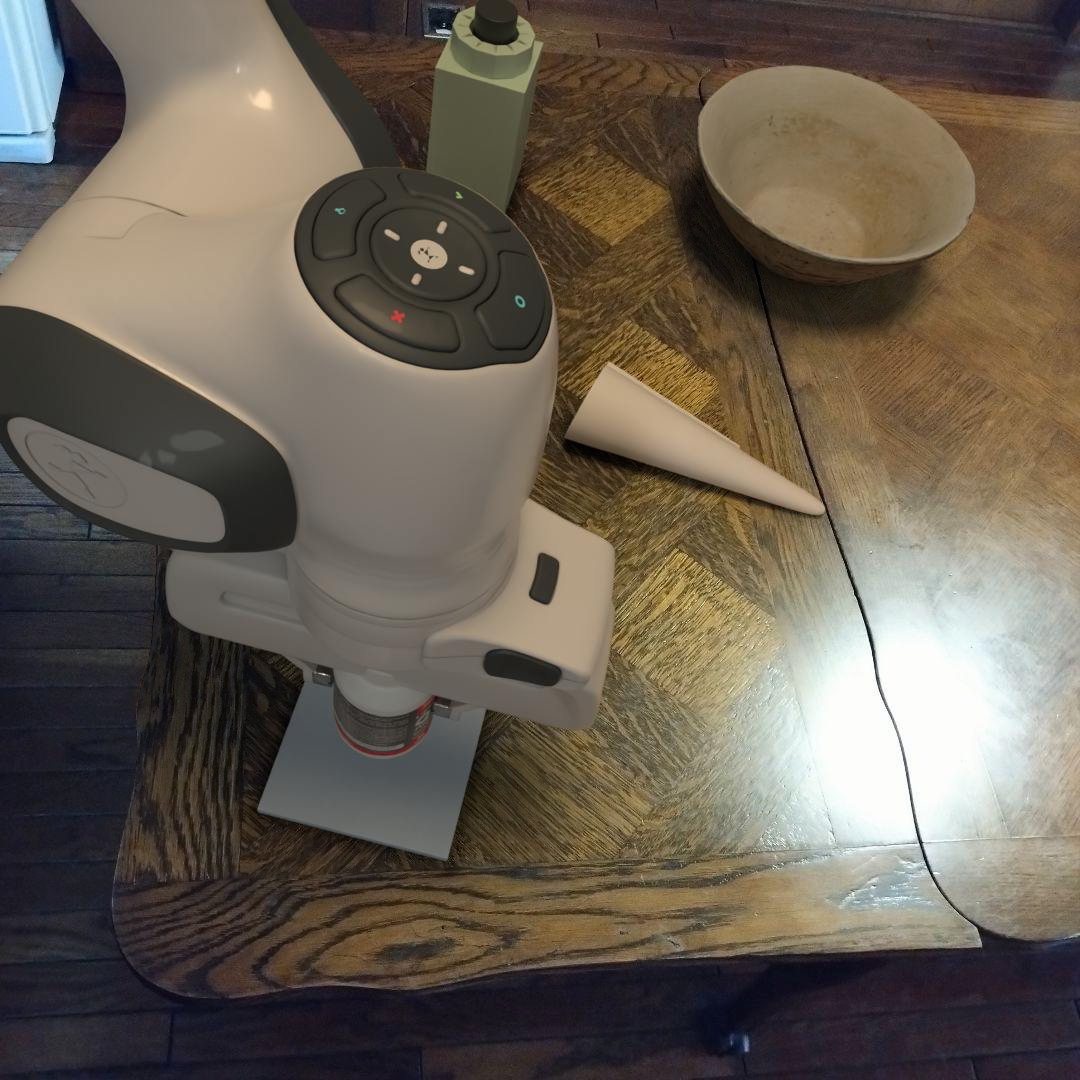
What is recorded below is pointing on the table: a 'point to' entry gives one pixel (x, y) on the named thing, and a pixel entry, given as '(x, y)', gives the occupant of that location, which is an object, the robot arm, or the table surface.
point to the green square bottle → (483, 109)
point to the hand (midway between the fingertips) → (386, 688)
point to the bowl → (831, 174)
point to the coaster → (372, 780)
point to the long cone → (675, 441)
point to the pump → (495, 21)
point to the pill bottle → (380, 714)
